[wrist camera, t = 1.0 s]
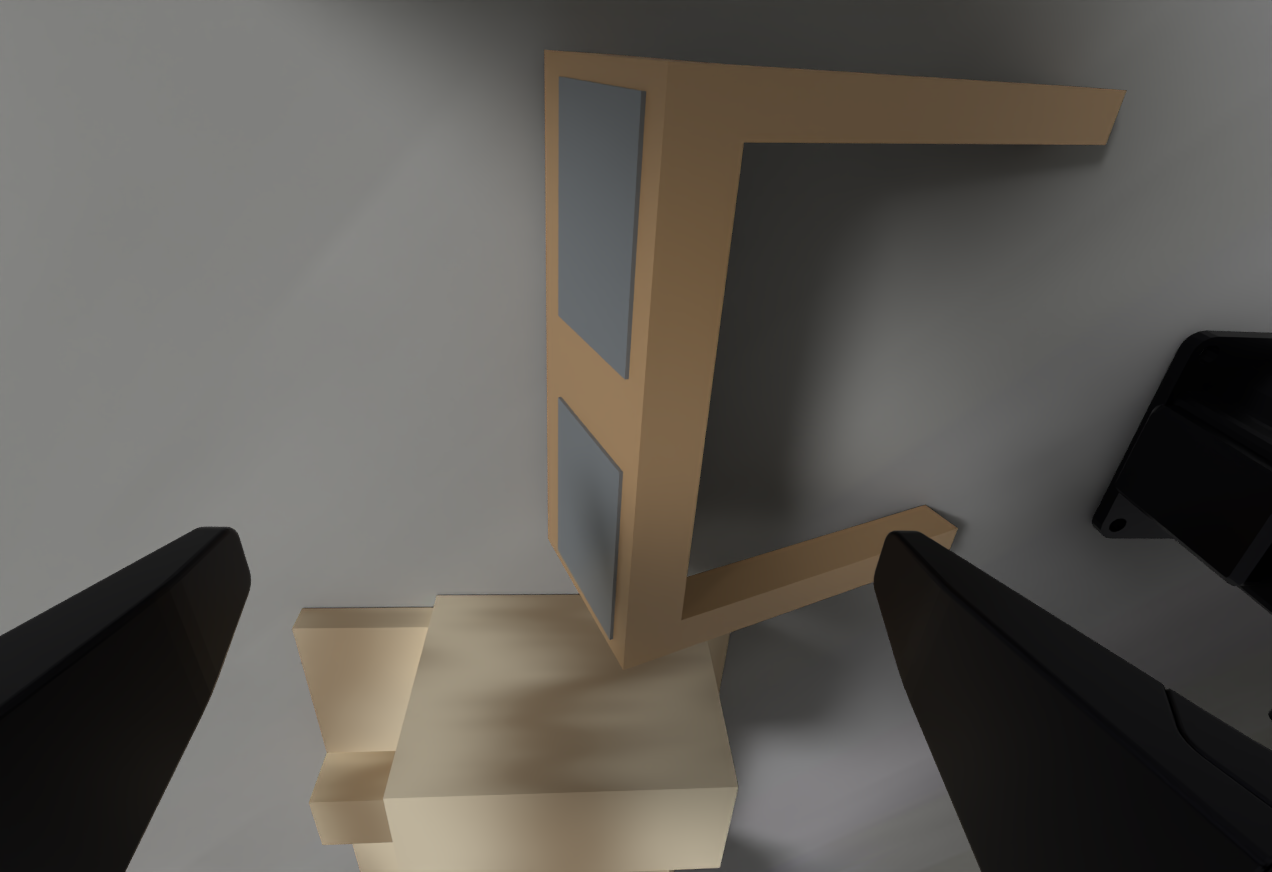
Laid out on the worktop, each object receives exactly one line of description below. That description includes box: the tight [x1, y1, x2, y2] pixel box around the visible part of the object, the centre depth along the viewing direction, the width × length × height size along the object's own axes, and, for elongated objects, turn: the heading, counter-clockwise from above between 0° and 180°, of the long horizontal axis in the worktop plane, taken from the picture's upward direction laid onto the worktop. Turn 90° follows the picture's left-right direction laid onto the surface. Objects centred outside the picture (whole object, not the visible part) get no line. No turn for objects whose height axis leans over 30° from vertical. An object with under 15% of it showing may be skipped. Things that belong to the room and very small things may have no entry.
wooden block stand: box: [292, 595, 738, 872], centre depth 21 cm, size 13×15×6 cm
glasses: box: [544, 50, 1127, 670], centre depth 16 cm, size 10×12×5 cm
